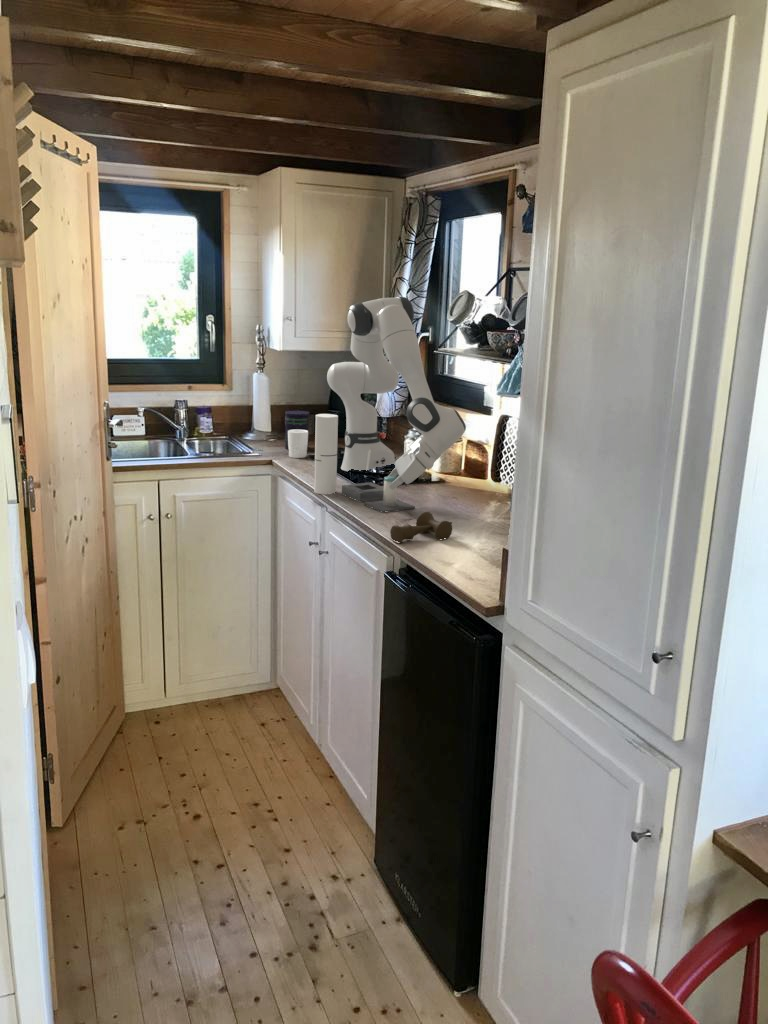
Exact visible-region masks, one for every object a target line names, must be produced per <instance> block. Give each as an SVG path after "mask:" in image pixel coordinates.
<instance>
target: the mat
mask: <svg viewBox="0 0 768 1024" xmlns="http://www.w3.org/2000/svg"><path fill="white" fill-rule="evenodd" d="M364 504H366V505H368V506H370V507H373V508H375V509H377V510H379V511H382V512H384V513H386V512H385V511H392V512H398V511H397V510H399V511H404V509H406V510H412V509H415V508H416V507H415V506H414V505H413V504H410V503H407V502H405V501H403V500H400V499H398V498H396V506H385V505H383V500H376V501H369V502H364ZM366 505H365V506H366ZM368 506H367V507H368ZM370 507H369V508H370ZM375 509H374V510H375ZM377 510H376V511H377ZM379 511H378V512H379ZM382 512H381V513H382Z"/></svg>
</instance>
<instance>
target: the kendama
mask: <svg viewBox="0 0 768 1024" xmlns="http://www.w3.org/2000/svg"><path fill="white" fill-rule="evenodd" d="M422 532H424V533H428V532H431V533H433V534H434V535H435V536H436V539H437V540H439V539H444V538H448V539H450V537H451V535H452V533H453V521H449V520H441V521H438V520H436V519H435V518H434V516H433V514H432V512H430V511H424V512H421V513H420V514H419V515H418V516H417V518H416V522H415V525H411V524H409V523H406V524H404V525H403V526H399V525H398V524H397V525H396V524H393V525H392V526H391V528H390V531H389V533H390V534H389V535H390V538H391V540H392V539H393V540H395V541H398V542H401V543H402V542H403V541H405V540H408V539H411V540H413V539H414V537H415V536H417V535H420V534H422ZM404 539H405V540H404ZM393 540H392V541H393Z"/></svg>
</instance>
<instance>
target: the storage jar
mask: <svg viewBox="0 0 768 1024" xmlns="http://www.w3.org/2000/svg"><path fill="white" fill-rule="evenodd" d="M284 414H285V416H284V426H285V435H284V449H285V450H286V451H289V448H288V430H294V429H300V430H307V431H308V432H309V427H310V416H309V415H310V411H307V410H299V409H298V410H294V409H293V410H286V411H285V413H284ZM309 443H310V436H309V434H308V444H307V451H308V450H309V448H310V447H309Z"/></svg>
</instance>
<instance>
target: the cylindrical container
mask: <svg viewBox="0 0 768 1024" xmlns="http://www.w3.org/2000/svg"><path fill="white" fill-rule="evenodd" d="M338 426H339V415H337V414H332V413H318V414H315V425H314V427H315V429H314V430H315V431H314V432H315V433H314V434H315V435H314V436H315V437H314V438H315V439H314V444H315V445H314V485H313V486H314V489H313V490H314V493H315V494H318V495H319V494H320V495H326V494H325V493H334V494H336V493H337V478H338V477H337V472H338V471H337V470H338V431H339V429H338V428H339V427H338ZM335 492H336V493H335Z"/></svg>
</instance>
